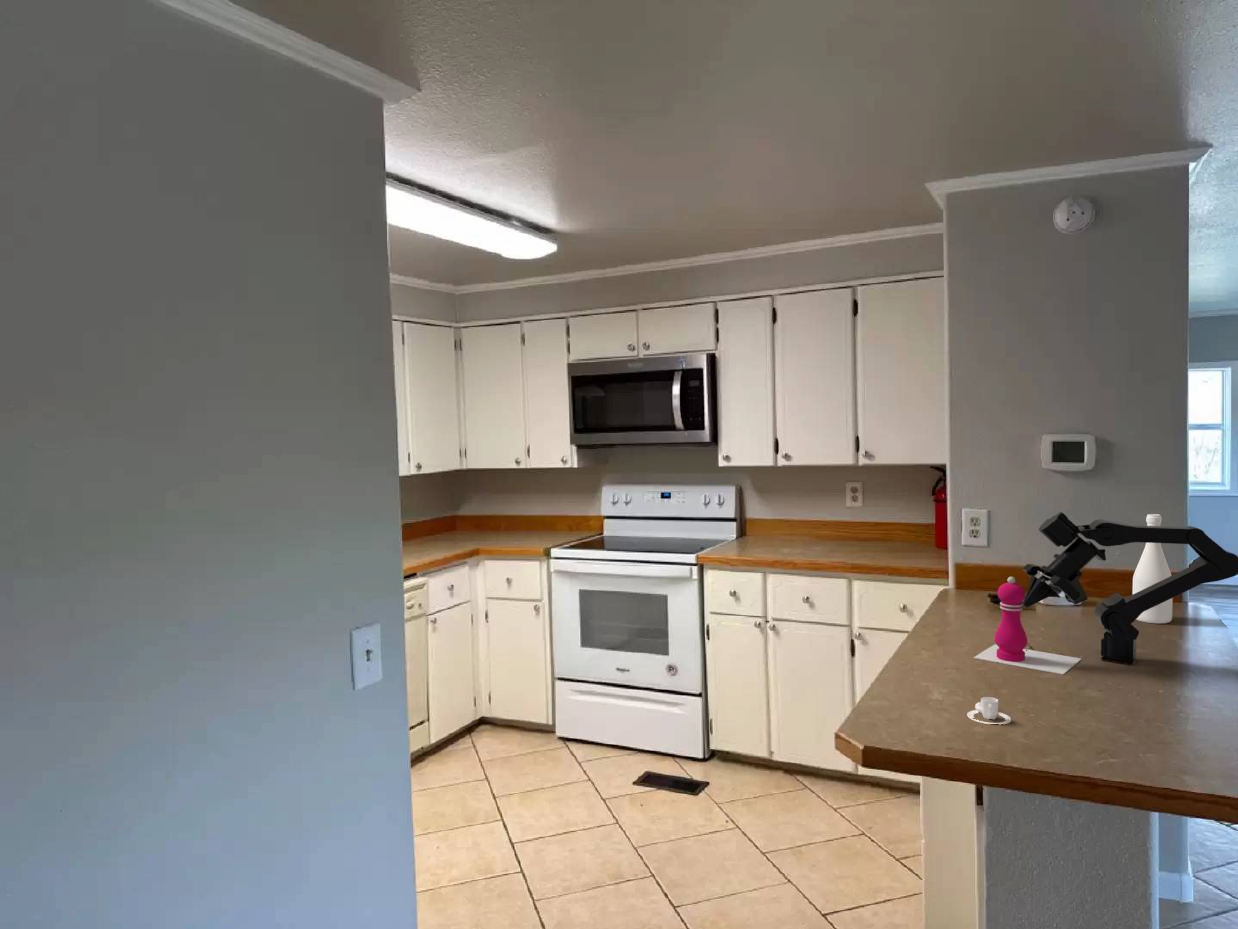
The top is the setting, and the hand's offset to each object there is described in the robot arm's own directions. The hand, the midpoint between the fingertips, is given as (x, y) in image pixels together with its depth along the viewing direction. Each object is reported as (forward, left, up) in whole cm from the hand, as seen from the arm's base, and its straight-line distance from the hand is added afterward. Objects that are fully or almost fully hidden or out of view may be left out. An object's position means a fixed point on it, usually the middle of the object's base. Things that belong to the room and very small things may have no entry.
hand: (1024, 606), depth 202 cm
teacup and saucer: (-9, +42, -14) cm, 45 cm away
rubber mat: (-1, 0, -13) cm, 13 cm away
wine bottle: (-16, -59, -13) cm, 63 cm away
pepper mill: (+2, +3, -13) cm, 13 cm away
